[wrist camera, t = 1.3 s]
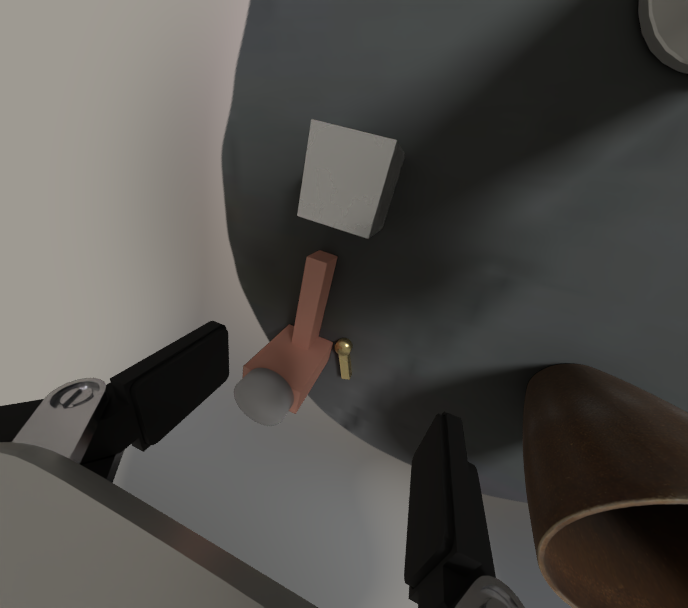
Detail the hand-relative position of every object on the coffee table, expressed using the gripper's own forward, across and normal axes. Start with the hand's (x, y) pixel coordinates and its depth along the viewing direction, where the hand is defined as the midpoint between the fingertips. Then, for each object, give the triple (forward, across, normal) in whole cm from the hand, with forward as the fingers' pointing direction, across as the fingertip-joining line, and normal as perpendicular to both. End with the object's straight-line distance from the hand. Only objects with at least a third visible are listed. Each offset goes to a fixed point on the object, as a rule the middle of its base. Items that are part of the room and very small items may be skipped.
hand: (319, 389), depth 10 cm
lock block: (+20, +5, -8) cm, 22 cm away
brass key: (+20, +2, +15) cm, 25 cm away
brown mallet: (+20, +8, +9) cm, 23 cm away
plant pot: (+20, -22, +8) cm, 31 cm away
